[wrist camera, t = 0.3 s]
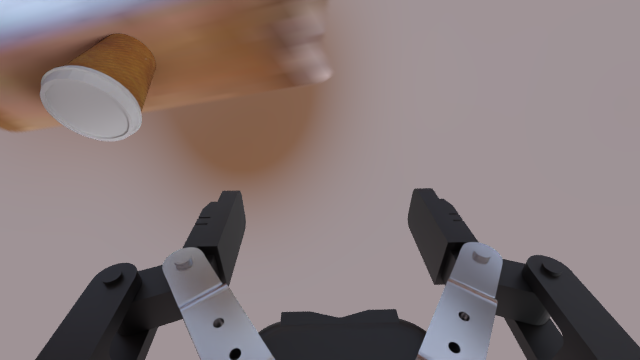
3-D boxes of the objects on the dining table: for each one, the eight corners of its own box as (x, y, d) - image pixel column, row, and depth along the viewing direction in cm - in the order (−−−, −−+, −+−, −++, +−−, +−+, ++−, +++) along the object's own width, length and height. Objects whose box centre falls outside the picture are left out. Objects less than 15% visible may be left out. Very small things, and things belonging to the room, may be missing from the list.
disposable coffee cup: (110, 3, 34) (54, 55, 26) (182, 63, 40) (154, 119, 33) (75, 49, 38) (19, 106, 31) (145, 98, 44) (113, 154, 37)
